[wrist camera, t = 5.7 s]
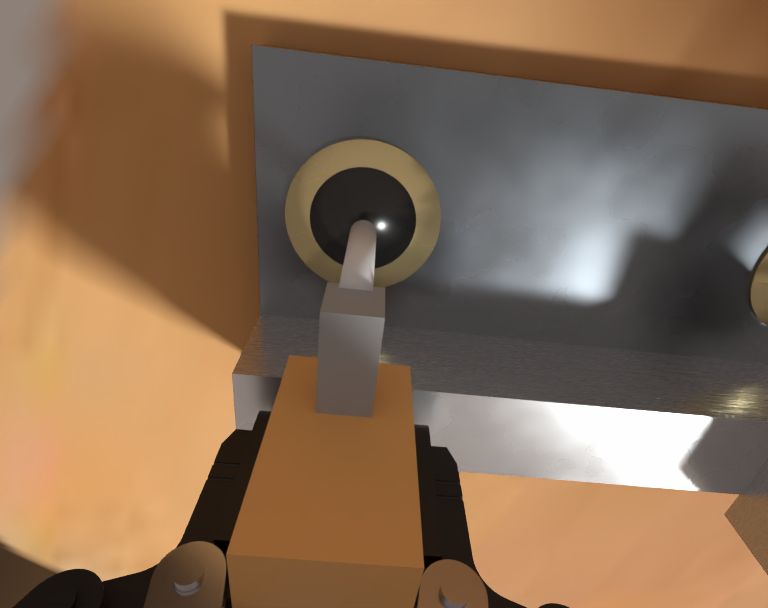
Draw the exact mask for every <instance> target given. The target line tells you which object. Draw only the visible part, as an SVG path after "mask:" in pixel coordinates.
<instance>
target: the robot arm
mask: <svg viewBox="0 0 768 608" xmlns="http://www.w3.org/2000/svg"><path fill="white" fill-rule="evenodd" d="M271 412H272V411H262V410H260V411H259V413H258V415H257V418H256V420H255V423H254V426H253V429H252V430H242V429H236V430H235V431H234V432H233V433H232V434H231V435H230V436H229V437H228V438H227V439H226V440H225V441H224V442H223V443H222V444H221V447H220V449H219V451H218V454H217V456H216V459H215V461H214V465H213V466H212V468H211V471H210V473H209V475H208V480H206V483H205V485H204V487H203V490H202V492H201V494H200V497H199V499H198V502H197V504H196V506H195V509H194V511H193V514H192V516H191V518H190V521H189V523H188V525H187V528H186V530H185V533H184V535H183V537H182V539H181V541H180V543H179V544H178V546H177V547H176V548H175V549H174V550H172V551H171V552H169V553H168V554H167V555H166V556H165V557H164V558H163V559H162V560H161V561H160V563H158V564H157V565H155V566H153V567H151V568H149V569H147V570H145V571H142V572H138V573H135V574H131V575H127V576H123V577H119V578H115V579H111V580H107V581H103V582H102V581H101V580H100V578H99V577H98V576H97V575H96V574H95V573H93V572H91V571H89V570H85V569H72V570H67V571H63V572H61V573H58V574H55V575H54V576H52V577H50V578H48V579H46V580H45V581H44V582H42V583H40V584H39V585H38V586H36V587H35V588H34V589H33V590H32V591H30V592H29V593H28V594H27V595H26V596H25V597H24V598H23V599H22V600H20V601H19V602H18V603H17V604H16V605H15V606H14V607H13V608H232V603H231V594H230V585H229V576H228V567H227V558H226V553H227V550H228V547H229V544H230V540H231V537H232V534H233V531H234V528H235V525H236V522H237V518H238V515H239V512H240V509H241V506H242V503H243V500H244V497H245V493H246V490H247V487H248V484H249V481H250V478H251V475H252V471H253V468H254V465H255V462H256V459H257V456H258V453H259V449H260V446H261V443H262V440H263V437H264V434H265V431H266V428H267V424H268V421H269V418H270V415H271ZM414 429H415V443H416V457H417V472H418V486H419V500H420V515H421V529H422V543H423V557H424V571H423V575H422V578H421V582H420V586H419V590H418V593H417V597H416V601H415V604H414V608H526V607H524V606H522V605H520V604H517V603H515V602H513V601H510V600H508V599H506V598H504V597H502V596H500V595H499V594H497V593H496V592H494V591H493V590H492V589H491V588H490V587H489V586H488V585H487V584H486V583H485V582H484V581H483V579H482V578H481V577H480V575H479V573H478V571H477V570H476V567H475V565H474V561H473V557H472V551H471V545H470V539H469V533H468V527H467V521H466V515H465V509H464V503H463V501H462V490H461V486H460V478H459V472H458V466H457V463H456V461H455V460H454V458H453V456H452V455H451V453H450V452H449V450H448V448H447V447H439V446H431V441H430V431H429V426H428V425H419V424H414ZM539 608H569V607H566V606H564V605H561V604H554V603H550V604H545V605H542V606H540V607H539Z"/></svg>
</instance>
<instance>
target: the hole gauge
mask: <svg viewBox="0 0 768 608" xmlns="http://www.w3.org/2000/svg"><path fill="white" fill-rule="evenodd" d="M252 67H253V98H254V130H255V161H256V193H257V224H258V256H259V287H260V316H259V318H258V320H257V322H256V324H255V327H254V329H253V331H252V333H251V335H250V337H249V339H248V341H247V343H246V345H245V347H244V350H243V352H242V354H241V356H240V358H239V360H238V362H237V364H236V366H235V368H234V370H233V373H232V379H233V393H234V406H235V420H236V429H242V430H252V429H253V426H254V423H255V420H256V418H257V415H258V413H259V411H260V410H262V411H272V409H273V406H274V402H275V399H276V396H277V393H278V390H279V387H280V384H281V380H282V377H283V374H284V371H285V368H286V365H287V362H288V359H289V355H294V356H305V357H315V358H318V343H319V321H320V309H321V306H322V302H323V298H324V294H325V290H326V286H327V282H334V283H340V278H341V274H342V269H343V264H344V259H345V254H346V249H347V244H348V239H349V234H350V230H351V227H352V225H353V224H354V223H355V222H357V221H360V220H366V221H369V222H371V223H372V224H373V225H374V226H375V228H376V232H377V234H376V251H375V268H374V284H373V287H383V288H385V322H384V330H383V337H382V345H381V353H380V360H379V363H380V364H391V365H401V366H410V372H411V386H412V400H413V415H414V424H419V425H428V426H429V431H430V441H431V446H439V447H447V448H448V450H449V452H450V453H451V455H452V456H453V458H454V460H455V461H456V463H457V466H458V471H460V472H473V473H485V474H497V475H509V476H521V477H534V478H546V479H558V480H570V481H582V482H595V483H607V484H619V485H631V486H643V487H656V488H668V489H680V490H692V491H704V492H717V493H729V494H740V495H739V496H738V497H737V499H736V500H735V501H734V503H733V504H732V505H731V506H730V508H729V509H728V510H727V512H726V513H725V514H724V515H725V516H726V518H727V519H728V520H729V522H730V523H731V525H732V526H733V527H734V529H735V530H736V532H737V533H738V534H739V536H740V537H741V539H742V540H743V541H744V543H745V544H746V545H747V547H748V548H749V550H750V551H751V552H752V554H753V555H754V557H755V558H756V559H757V561H758V562H759V564H760V565H761V566H762V568H763V569H764V570H765V572H766V573H767V575H768V109H764V108H756V107H748V106H740V105H732V104H724V103H716V102H708V101H700V100H692V99H684V98H676V97H669V96H661V95H653V94H645V93H637V92H629V91H621V90H613V89H605V88H597V87H589V86H581V85H573V84H565V83H557V82H549V81H541V80H533V79H526V78H518V77H510V76H502V75H494V74H486V73H478V72H470V71H462V70H454V69H446V68H438V67H430V66H422V65H414V64H406V63H398V62H390V61H383V60H375V59H367V58H359V57H351V56H343V55H335V54H327V53H319V52H311V51H303V50H295V49H287V48H279V47H271V46H263V45H252Z"/></svg>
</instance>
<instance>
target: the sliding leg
mask: <svg viewBox="0 0 768 608" xmlns="http://www.w3.org/2000/svg"><path fill="white" fill-rule="evenodd" d="M376 234H377V232H376V228H375V226H374V225H373V224H372V223H371V222H369V221H366V220H360V221H357V222H355V223H354V224H353V225H352V227H351V230H350V234H349V239H348V244H347V249H346V254H345V259H344V264H343V269H342V274H341V278H340V283H334V282H327V286H326V290H325V294H324V298H323V302H322V306H321V309H320V321H319V343H318V358H315V357H305V356H294V355H289V359H288V362H287V365H286V368H285V371H284V374H283V377H282V380H281V384H280V387H279V390H278V393H277V396H276V399H275V402H274V406H273V409H272V412H271V415H270V418H269V421H268V424H267V428H266V431H265V434H264V437H263V440H262V443H261V446H260V449H259V453H258V456H257V459H256V462H255V465H254V468H253V471H252V475H251V478H250V481H249V484H248V487H247V490H246V493H245V497H244V500H243V503H242V506H241V509H240V512H239V515H238V518H237V522H236V525H235V528H234V531H233V534H232V537H231V540H230V544H229V547H228V550H227V553H226V558H227V567H228V576H229V585H230V594H231V603H232V608H414V604H415V601H416V597H417V593H418V590H419V586H420V582H421V578H422V575H423V571H424V557H423V543H422V529H421V515H420V500H419V486H418V472H417V457H416V443H415V429H414V415H413V400H412V386H411V372H410V366H401V365H391V364H380V363H379V360H380V353H381V345H382V337H383V330H384V322H385V288H383V287H373V284H374V268H375V251H376Z"/></svg>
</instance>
